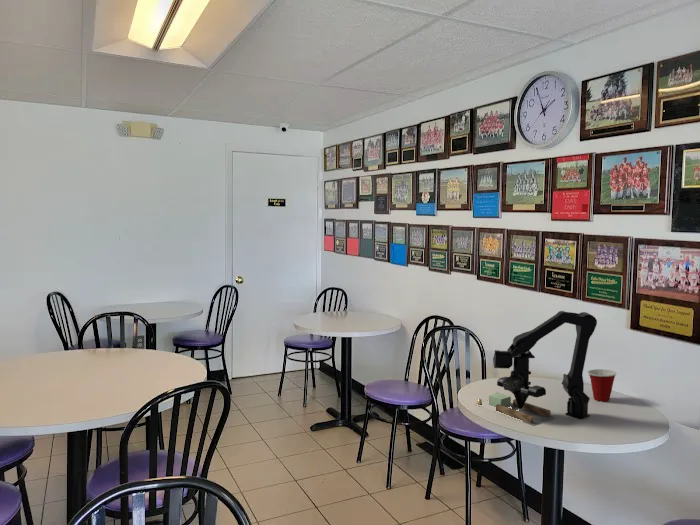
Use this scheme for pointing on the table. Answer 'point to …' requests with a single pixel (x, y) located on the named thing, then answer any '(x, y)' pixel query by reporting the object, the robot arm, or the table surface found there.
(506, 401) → the sage block
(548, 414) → the walnut channel
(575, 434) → the table surface
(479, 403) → the brass pegs
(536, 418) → the charcoal runway
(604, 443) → the table surface
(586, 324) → the robot arm
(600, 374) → the plastic cup
